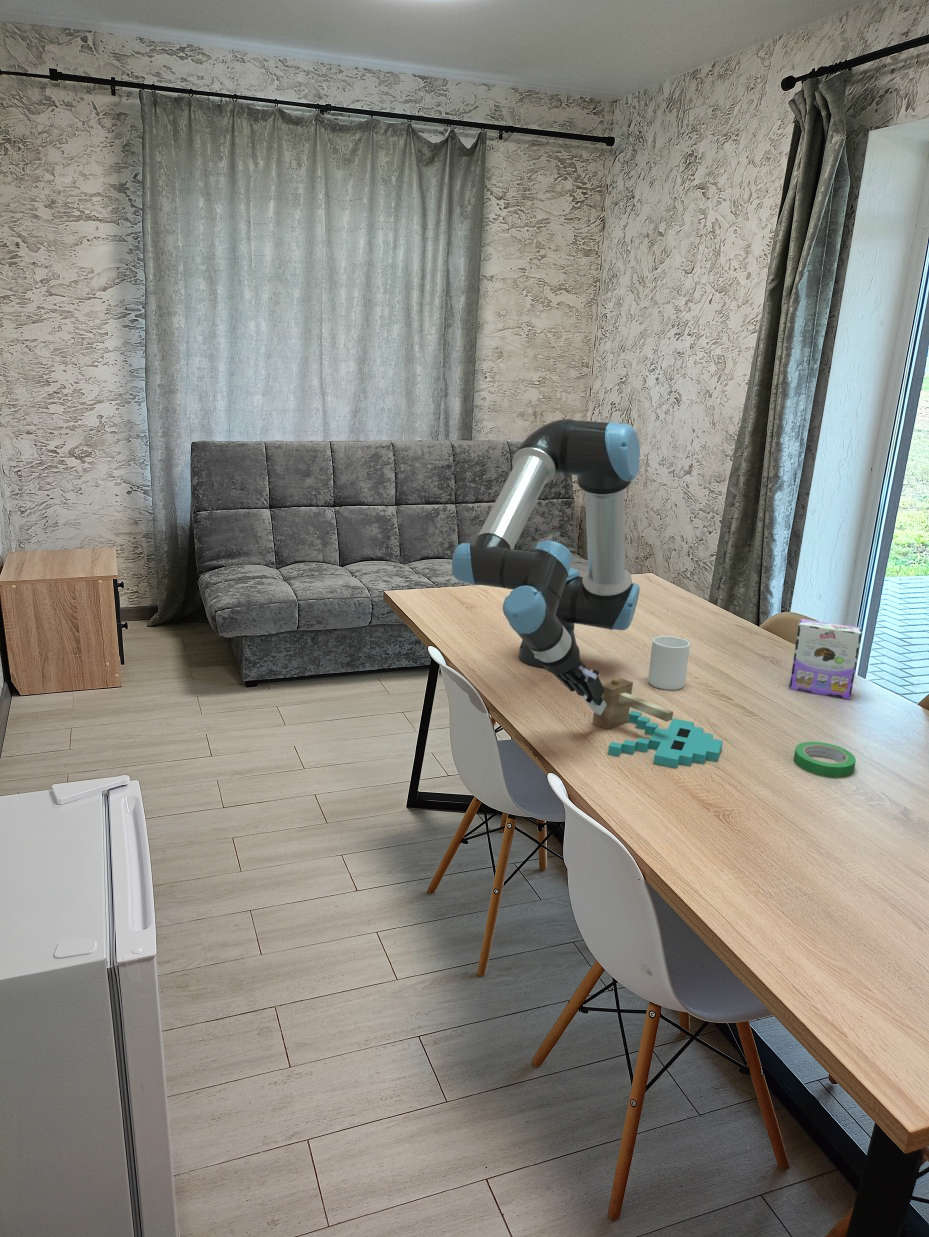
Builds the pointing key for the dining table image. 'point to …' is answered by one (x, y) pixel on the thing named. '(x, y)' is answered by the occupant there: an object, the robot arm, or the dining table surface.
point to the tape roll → (824, 768)
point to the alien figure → (671, 742)
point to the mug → (668, 662)
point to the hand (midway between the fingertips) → (600, 708)
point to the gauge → (624, 705)
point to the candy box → (825, 658)
